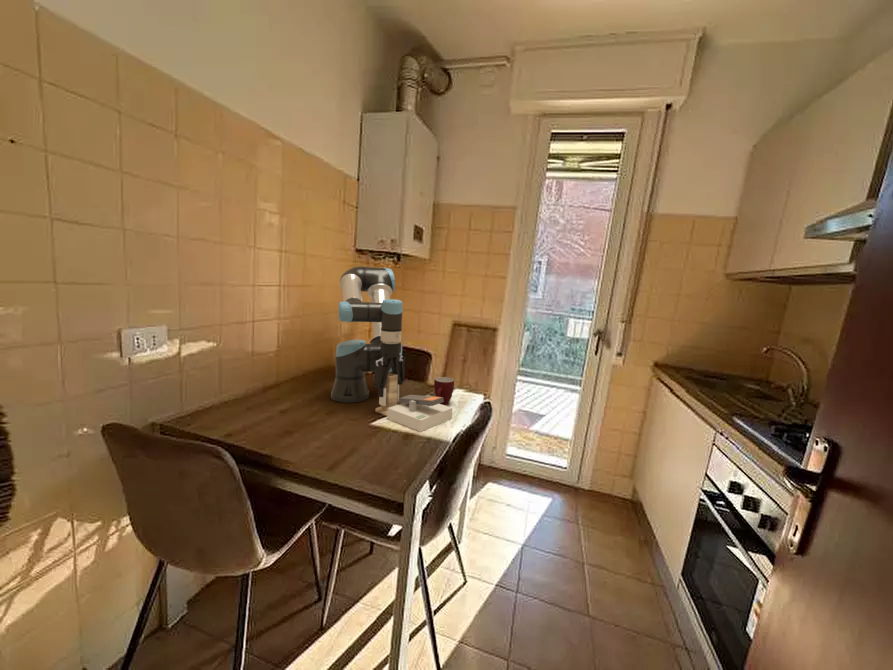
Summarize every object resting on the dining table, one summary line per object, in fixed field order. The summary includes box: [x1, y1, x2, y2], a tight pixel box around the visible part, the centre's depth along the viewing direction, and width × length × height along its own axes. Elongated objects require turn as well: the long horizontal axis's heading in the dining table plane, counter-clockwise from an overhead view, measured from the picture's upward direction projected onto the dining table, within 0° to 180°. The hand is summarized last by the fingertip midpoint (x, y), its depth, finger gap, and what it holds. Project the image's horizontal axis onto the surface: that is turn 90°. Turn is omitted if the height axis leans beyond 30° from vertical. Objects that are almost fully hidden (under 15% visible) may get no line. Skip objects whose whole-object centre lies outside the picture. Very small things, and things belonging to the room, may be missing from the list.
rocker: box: [398, 394, 444, 406], centre depth 135 cm, size 16×6×2 cm, turn 52°
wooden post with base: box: [375, 372, 398, 416], centre depth 141 cm, size 7×7×14 cm
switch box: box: [386, 394, 453, 433], centre depth 136 cm, size 16×17×8 cm
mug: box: [433, 376, 455, 406], centre depth 152 cm, size 11×8×10 cm
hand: (389, 402), depth 141 cm, fingers open, 6 cm apart
